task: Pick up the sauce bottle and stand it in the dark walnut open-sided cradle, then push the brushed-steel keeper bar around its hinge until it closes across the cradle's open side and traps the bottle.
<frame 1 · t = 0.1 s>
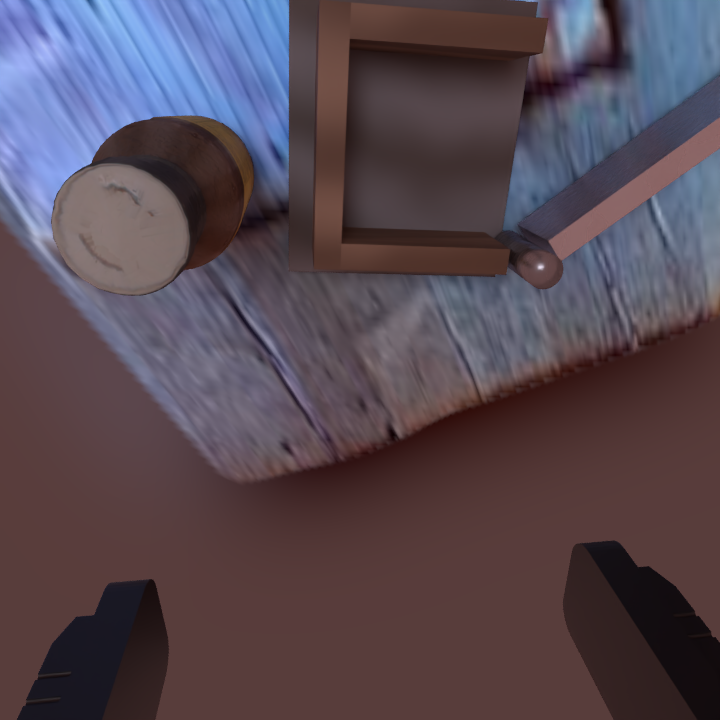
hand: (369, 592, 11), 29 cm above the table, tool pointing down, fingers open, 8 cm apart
keeper: (648, 168, 32), point 5 cm above the table, hinge at 50.0°
sauce bottle: (208, 169, 35), on the table
cradle: (417, 146, 35), on the table
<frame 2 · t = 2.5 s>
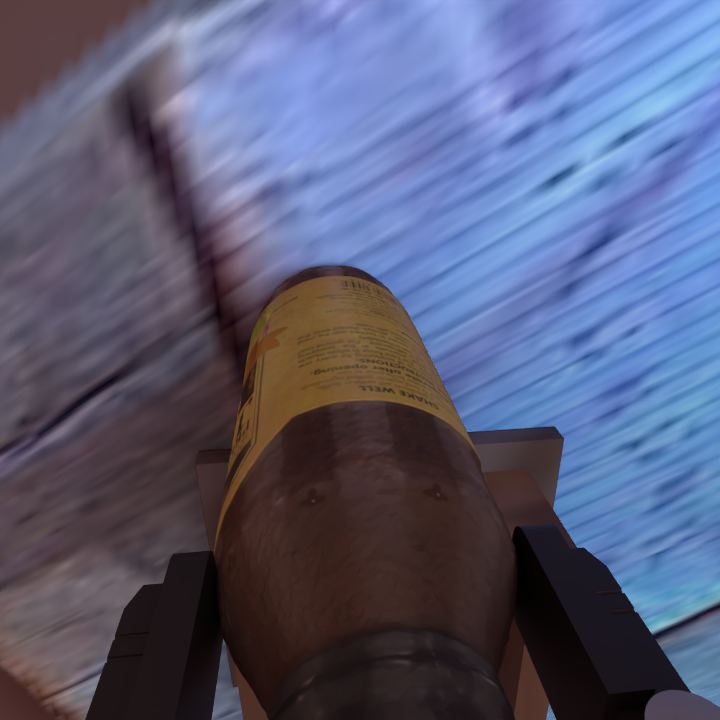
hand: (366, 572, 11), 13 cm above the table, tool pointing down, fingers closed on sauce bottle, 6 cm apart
sauce bottle: (332, 335, 23), on the table, touching gripper
cradle: (382, 573, 28), on the table
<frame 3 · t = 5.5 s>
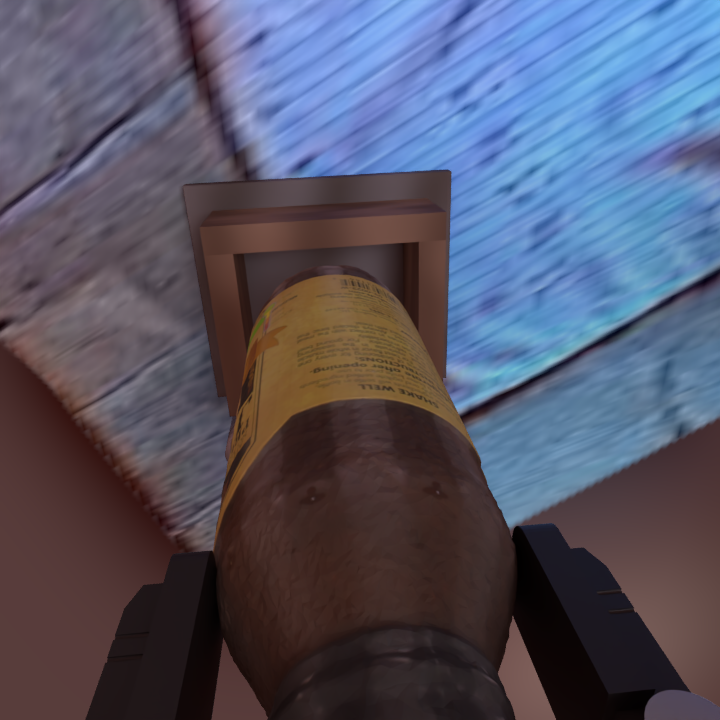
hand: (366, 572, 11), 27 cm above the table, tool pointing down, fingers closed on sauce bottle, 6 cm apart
keeper: (339, 499, 38), point 5 cm above the table, hinge at 50.0°
sauce bottle: (331, 334, 23), point 14 cm above the table, touching gripper
cradle: (327, 301, 37), on the table
when the fingers open (15 cm above the table, at t = 8.7 s): sauce bottle drops 1 cm, resting on cradle.
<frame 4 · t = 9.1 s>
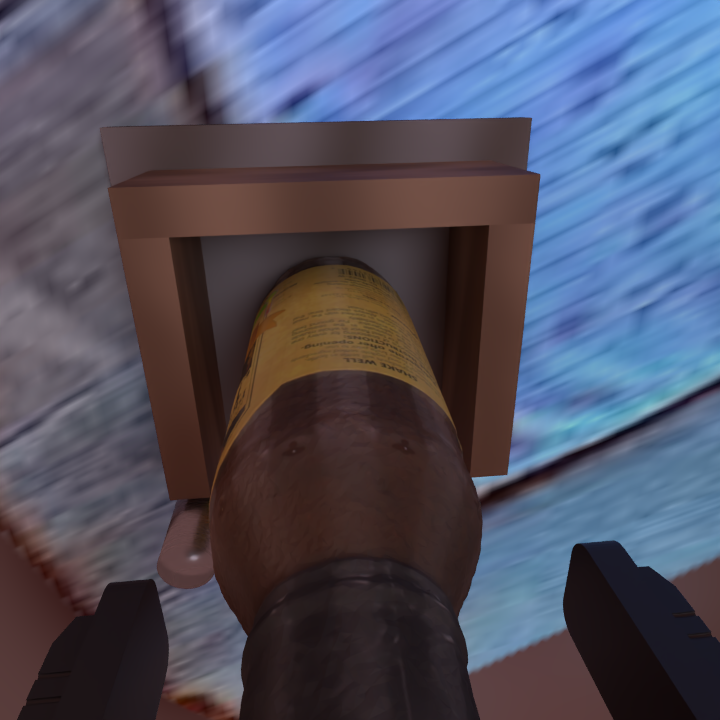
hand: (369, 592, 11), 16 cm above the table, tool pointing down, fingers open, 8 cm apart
keeper: (340, 610, 26), point 5 cm above the table, hinge at 50.0°
sauce bottle: (332, 323, 24), point 1 cm above the table, touching cradle
cradle: (330, 316, 25), on the table
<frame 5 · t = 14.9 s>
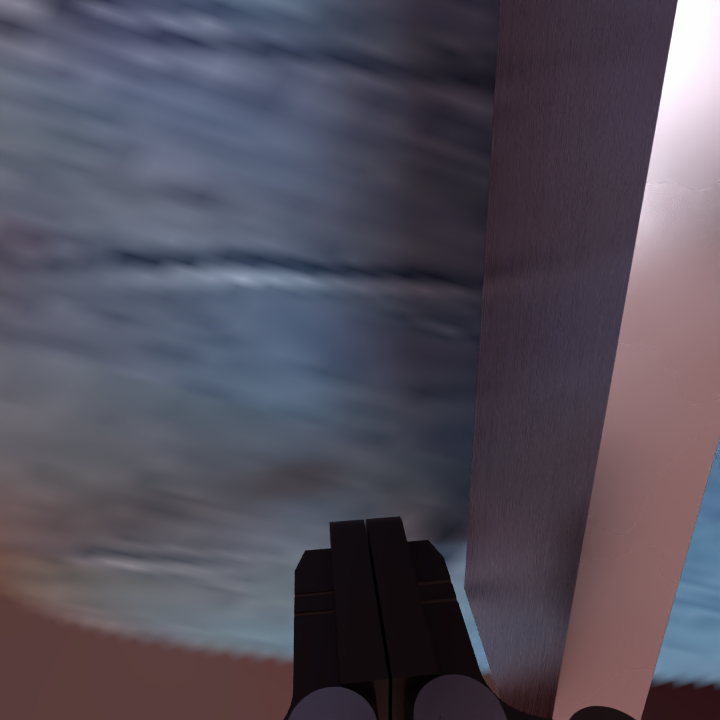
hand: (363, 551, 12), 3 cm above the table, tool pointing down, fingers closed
keeper: (612, 255, 8), point 5 cm above the table, hinge at 49.0°, touching gripper
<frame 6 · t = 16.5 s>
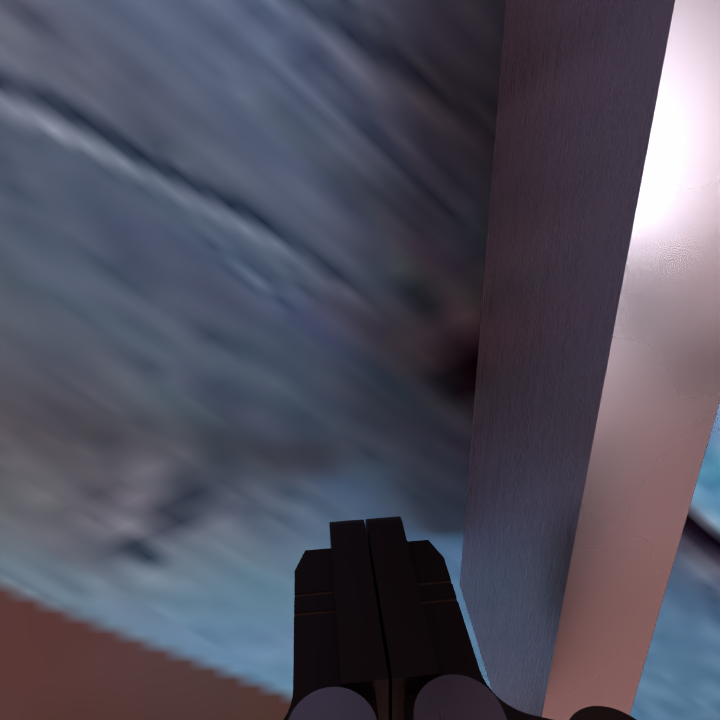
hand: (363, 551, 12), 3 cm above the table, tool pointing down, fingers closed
keeper: (609, 253, 8), point 5 cm above the table, hinge at 25.9°, touching gripper
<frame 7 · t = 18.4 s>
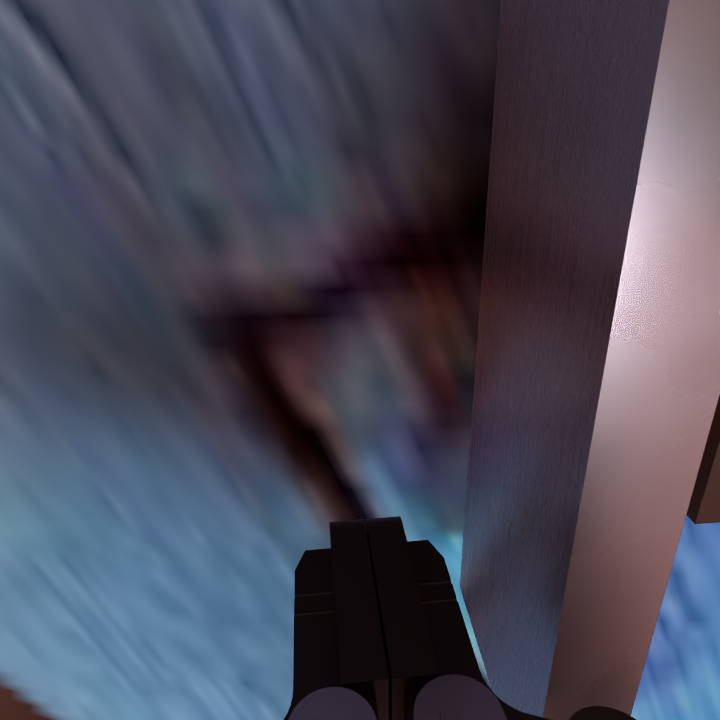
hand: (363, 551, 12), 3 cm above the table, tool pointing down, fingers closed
keeper: (606, 254, 8), point 5 cm above the table, hinge at -0.5°, touching gripper
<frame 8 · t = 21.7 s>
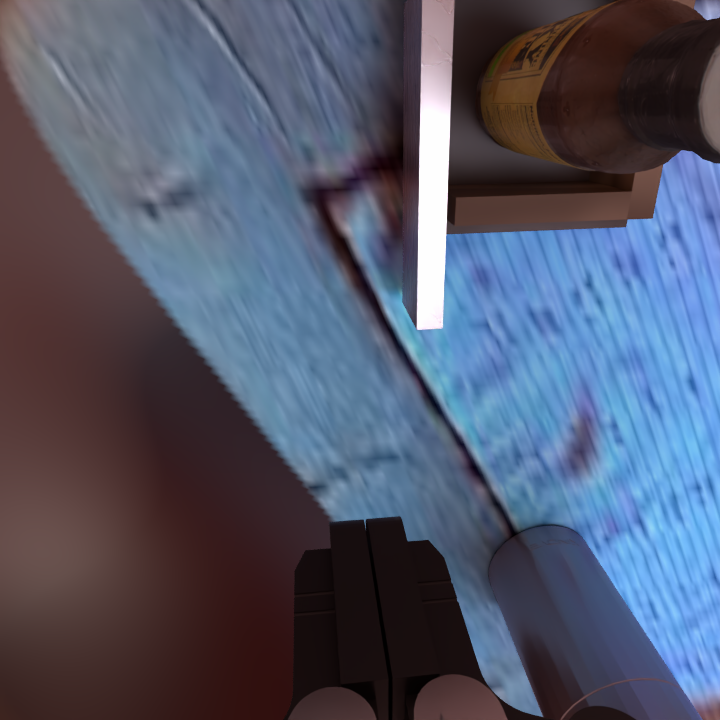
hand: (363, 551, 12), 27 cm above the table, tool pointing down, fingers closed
keeper: (427, 151, 30), point 5 cm above the table, hinge at -0.5°
sauce bottle: (518, 95, 33), point 1 cm above the table, touching cradle
cradle: (513, 94, 33), on the table
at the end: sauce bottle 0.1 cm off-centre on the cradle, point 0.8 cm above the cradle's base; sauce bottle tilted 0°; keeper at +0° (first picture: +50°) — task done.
